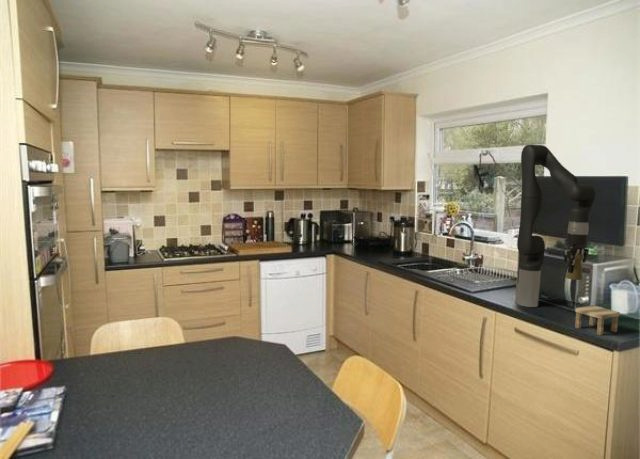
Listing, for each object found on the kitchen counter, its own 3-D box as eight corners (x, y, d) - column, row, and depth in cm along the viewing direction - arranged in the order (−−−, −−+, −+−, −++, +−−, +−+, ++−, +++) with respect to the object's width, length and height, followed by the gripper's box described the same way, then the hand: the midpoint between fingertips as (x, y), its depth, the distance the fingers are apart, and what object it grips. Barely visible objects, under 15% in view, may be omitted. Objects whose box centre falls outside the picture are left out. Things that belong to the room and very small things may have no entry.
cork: (578, 277, 199) (580, 251, 198) (584, 280, 193) (587, 254, 192) (563, 276, 199) (565, 251, 198) (569, 279, 193) (571, 253, 192)
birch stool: (574, 327, 189) (575, 308, 188) (591, 323, 194) (592, 305, 193) (600, 335, 179) (602, 315, 179) (617, 331, 184) (619, 312, 184)
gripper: (580, 230, 200) (576, 270, 202) (558, 232, 194) (554, 272, 196) (597, 233, 194) (593, 273, 196) (575, 234, 187) (571, 276, 189)
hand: (574, 272), depth 196 cm, fingers closed on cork, 3 cm apart
